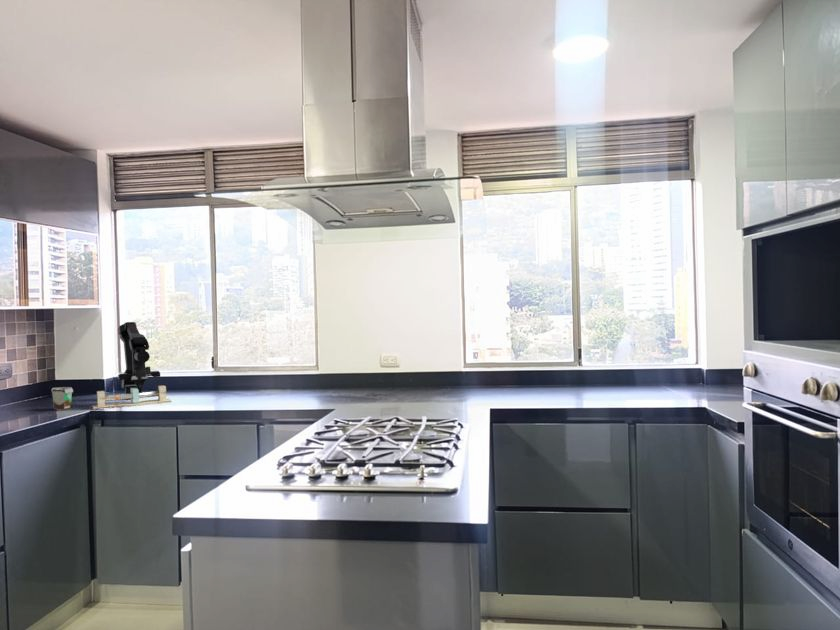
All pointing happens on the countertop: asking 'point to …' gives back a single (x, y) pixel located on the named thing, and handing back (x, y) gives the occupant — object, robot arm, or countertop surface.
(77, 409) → the countertop surface
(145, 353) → the robot arm
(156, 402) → the beige cradle stand
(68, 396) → the food container
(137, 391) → the collar
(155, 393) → the pipe
